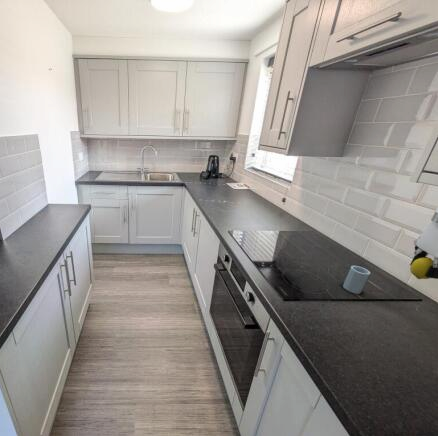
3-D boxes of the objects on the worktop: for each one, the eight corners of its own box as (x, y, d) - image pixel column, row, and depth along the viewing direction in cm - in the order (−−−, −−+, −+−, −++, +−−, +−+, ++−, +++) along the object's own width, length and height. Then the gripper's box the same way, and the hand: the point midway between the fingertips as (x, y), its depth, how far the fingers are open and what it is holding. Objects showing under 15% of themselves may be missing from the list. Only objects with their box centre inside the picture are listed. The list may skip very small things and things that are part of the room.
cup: (356, 286, 93) (365, 267, 89) (364, 295, 88) (373, 275, 84) (340, 283, 94) (348, 264, 91) (346, 291, 89) (355, 272, 86)
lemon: (430, 286, 72) (442, 264, 69) (405, 278, 76) (416, 257, 73) (431, 279, 76) (443, 258, 73) (406, 271, 80) (417, 251, 77)
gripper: (500, 234, 60) (463, 290, 66) (442, 212, 75) (417, 260, 82) (462, 230, 61) (430, 286, 68) (413, 210, 77) (391, 257, 83)
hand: (423, 271), depth 75 cm, fingers closed on lemon, 5 cm apart
